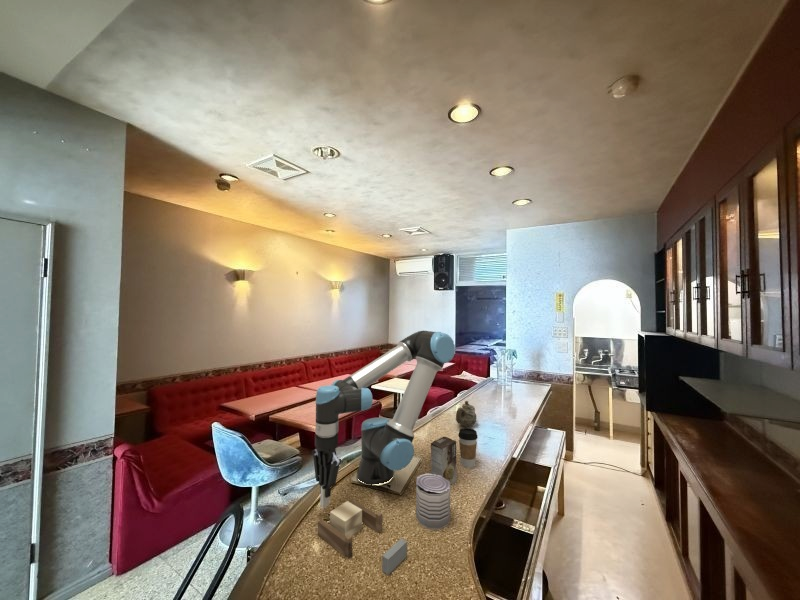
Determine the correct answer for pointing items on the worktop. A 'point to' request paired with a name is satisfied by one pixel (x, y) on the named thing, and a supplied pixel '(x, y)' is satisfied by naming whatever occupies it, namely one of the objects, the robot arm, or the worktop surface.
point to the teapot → (466, 415)
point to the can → (432, 501)
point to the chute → (345, 542)
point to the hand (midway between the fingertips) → (324, 505)
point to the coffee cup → (467, 446)
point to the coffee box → (444, 459)
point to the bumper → (394, 556)
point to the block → (346, 518)
